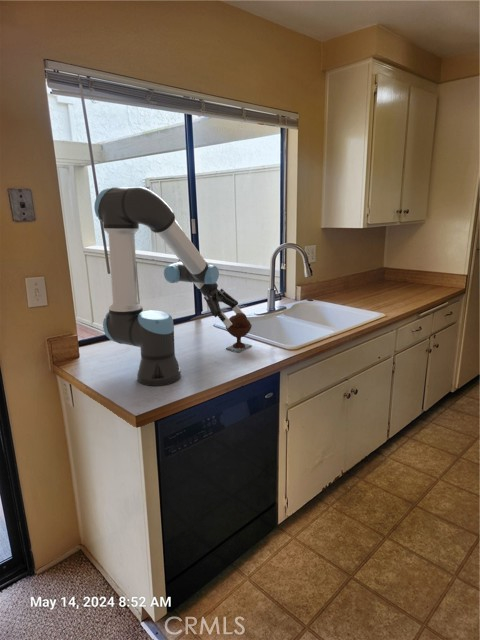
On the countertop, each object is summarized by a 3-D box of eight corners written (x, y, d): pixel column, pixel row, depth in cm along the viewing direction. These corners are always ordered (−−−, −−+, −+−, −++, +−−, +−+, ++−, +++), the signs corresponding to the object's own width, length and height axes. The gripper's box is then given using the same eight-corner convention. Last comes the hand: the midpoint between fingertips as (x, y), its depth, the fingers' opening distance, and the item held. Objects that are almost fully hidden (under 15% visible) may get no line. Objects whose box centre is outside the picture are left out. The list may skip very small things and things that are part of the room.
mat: (238, 352, 170) (238, 350, 170) (226, 349, 174) (225, 347, 174) (251, 346, 177) (251, 344, 177) (239, 343, 181) (239, 342, 181)
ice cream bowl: (253, 342, 180) (253, 309, 176) (247, 351, 169) (247, 316, 165) (230, 341, 182) (230, 308, 178) (223, 349, 172) (222, 314, 168)
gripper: (214, 285, 189) (243, 320, 186) (185, 295, 167) (217, 335, 165) (224, 274, 185) (254, 310, 183) (196, 283, 163) (229, 324, 161)
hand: (237, 322), depth 174 cm, fingers open, 13 cm apart
